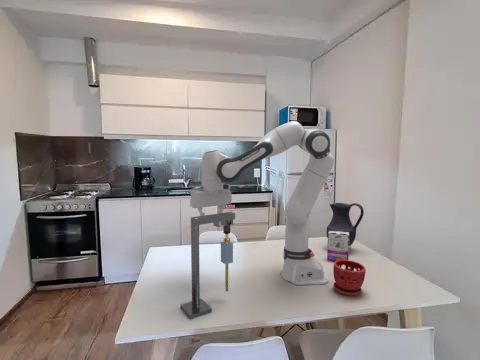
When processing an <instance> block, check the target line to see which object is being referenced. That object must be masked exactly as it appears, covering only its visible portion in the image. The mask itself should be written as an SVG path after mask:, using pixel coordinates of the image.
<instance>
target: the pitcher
mask: <svg viewBox="0 0 480 360" xmlns="http://www.w3.org/2000/svg"><path fill="white" fill-rule="evenodd" d="M353 206H356V207H358V208H359V210H360V215H359V217H358V218H357V221H356V222H355V224H354V225H353V223H352V221H351V218H350V211H351V208H352V207H353ZM329 207H330V208H331V211H332V213H333V215H332V216H331V220H330V222H329V224H328V225H327V226H326V238H327V239H328V232H329V231H340V232H349V248H350V247H351V246H352V245H353V244H354V242H355V240H356V236H357V229H358V226H359V224H360V223H361V221H362V220H363V218H364V217H363V216H364V207H363V206H362V205H361V204H359V203H355V202H354V203H345V202H334V203H331V204H329Z"/></svg>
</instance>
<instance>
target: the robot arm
mask: <svg viewBox="0 0 480 360" xmlns="http://www.w3.org/2000/svg"><path fill="white" fill-rule="evenodd" d="M295 146H298V147H299V148H300V149H301V150H303V151H304V152H306V153H308V154H309V158H308V159H309V160H308V162H307V164H306V165H305V168H304V170H303V172H302V173H301V176H300V178H299V180H298V182H297V183H296V186H295V187H294V190H293V192H292V193H291V195H290V197H289V199H288V201H287V203H286V205H285V207H284V214H285V229H284V231H285V232H284V247H283V264H282V270H281V272H280V277H281V278H282V279H284V280H285V281H288V282H290V283H292V285H293V284H294V285H296V286H302V285H303V286H304V285H305V286H307V285H309V286H310V285H327V284H328V283H329V276H328V274H327V273H326V272H325V271H324V268H323V265H322V264H321V262H320V261H319V260H317V259H316V258H315V253H314V252H313V251H312V249H311V248H309V232H310V231H309V229H310V228H309V226H310V224H309V223H310V214H311V212H312V211H313V207H314V205H315V203H316V201H317V199H318V197H319V195H320V192H321V191H322V189H323V187H324V186H325V184H326V181H327V179H328V178H329V176H330V174H331V171H332V169H333V167H334V163H335V156H334V155H333V154H332V153H331V148H330V147H331V139H330V136H329V135H328V133H326V132H325V131H323V130H321V129H318V128H304V127H303V126H302V124H301V123H300V122H298V121H296V120H291V121H288V122H286V123H283V124H281V125H279V126H277V127H275V128H273V129H272V130H270V131H268V132H267V133H266V134H264V135H263V137H261V138H260V139H259V141H258V142H257V144H255V145H254V146H253V147H252V148H250V149H248V150H246V151H245V152H243V153H241V154H240V155H238V156H236V157H230V156H228V155H226V154H224V153H222V152H220V151H219V150H210V151H206V152H204V153H203V154H202V157H201V173H202V176H201V186H198V187H197V186H195V187H193V188H191V189H190V198H189V199H190V200H189V205H190V207H191V208H193V209H197V211H198V212H199V216H204V215H206V213H205V212H203V208H208V207H209V208H210V207H217V206H219V207H220V208H219V210H217V214H219V213H224V212H223V211H224V209H225V206H226V205H231V203H232V200H233V199H232V191H231V184H228V183H233V182H235V181H237V180H238V179H239V177H240V176H241V174H242V173H244V171H245V170H247V169H248V168H249V167H252V166H253V165H255V164H256V163H258V162H260V161H262V160H265V159H268V158H272V157H275V156H278V155H280V154H283V153H284V152H286V151H288V150H289V149H291V148H292V147H295Z"/></svg>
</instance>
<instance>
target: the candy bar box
mask: <svg viewBox="0 0 480 360" xmlns="http://www.w3.org/2000/svg"><path fill="white" fill-rule="evenodd" d="M349 252H350V247H349V232H340V231H329V232H328V238H327V259H326V260H327V261H328V262H333V263H334V262H335V261H337V260H349V258H350V256H349V254H350V253H349Z"/></svg>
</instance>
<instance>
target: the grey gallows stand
mask: <svg viewBox="0 0 480 360" xmlns="http://www.w3.org/2000/svg"><path fill="white" fill-rule="evenodd" d="M234 220H236V213H235V212H233V211H227V212H223V213H219V214H218V213H214V214H213V213H212V214H205V215H204V216H200V215H199V216H197V215H196V216H191V217H190V253H191V254H190V255H191V256H190V261H191V263H190V264H191V270H190V271H191V272H190V273H191V301H188V302H184V303H181V304H180V307H179V308H180V310H181V311H182V312H183V314H185V315H186V317H187V318H188V319H189V320H193V319H195V318H200V317H201V316H204V315H207V314H210V313H212V312H213V308H212V307H211V306H210V305H209V304H208V303H207V302H206V301H205V300H203V298H201V296H200V295H201V292H200V291H201V290H200V281H201V280H200V279H201V278H200V225H207V224H213V226H215V227H216V228H219V227H220V225H221V226H223V227H222V229H223V234H224V236H225V237H224V238H223V242H225V244H228V242H231V238H230V237H229V234H231V225H234ZM224 265H225V266H224V268H225V270H224V271H225V272H224V273H225V278H224V279H225V281H224V282H225V290H224V291H225V292H229V264H224Z"/></svg>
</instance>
